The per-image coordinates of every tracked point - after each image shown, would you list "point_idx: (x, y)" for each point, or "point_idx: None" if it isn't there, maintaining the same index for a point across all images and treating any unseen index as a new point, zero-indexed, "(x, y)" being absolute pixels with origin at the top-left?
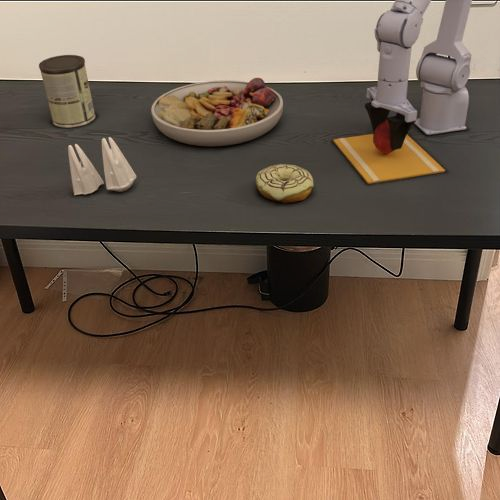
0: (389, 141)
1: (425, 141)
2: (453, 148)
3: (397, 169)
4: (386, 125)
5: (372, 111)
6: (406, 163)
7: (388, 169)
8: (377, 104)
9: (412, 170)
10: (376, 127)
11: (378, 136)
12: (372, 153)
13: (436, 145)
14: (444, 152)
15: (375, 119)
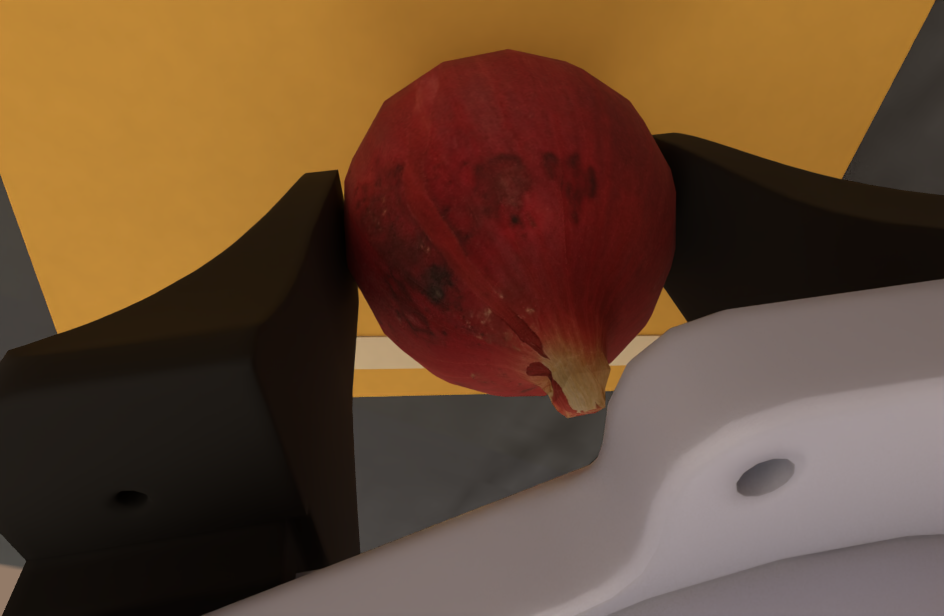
0: (352, 190)
1: (539, 436)
2: (394, 512)
3: (140, 98)
4: (505, 284)
5: (890, 256)
6: (248, 221)
7: (157, 12)
8: (682, 471)
9: (106, 211)
10: (701, 197)
11: (478, 106)
12: (543, 34)
13: (465, 463)
14: (366, 468)
15: (772, 235)
